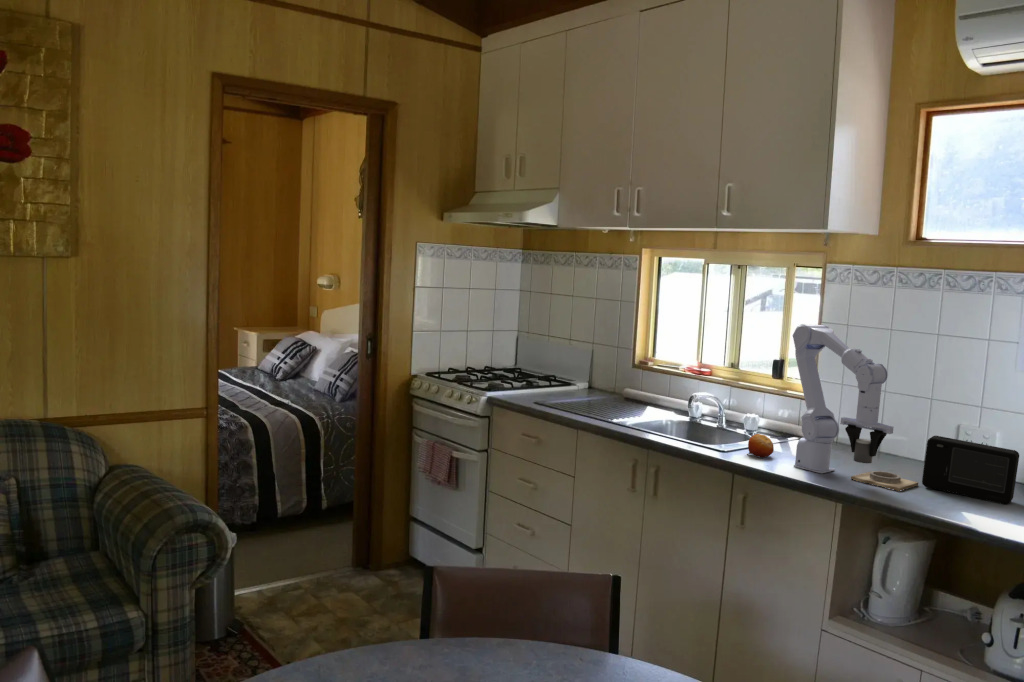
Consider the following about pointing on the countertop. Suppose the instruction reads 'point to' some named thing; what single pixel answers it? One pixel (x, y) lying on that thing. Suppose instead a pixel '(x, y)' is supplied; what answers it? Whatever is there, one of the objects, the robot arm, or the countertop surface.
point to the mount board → (885, 480)
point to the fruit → (760, 446)
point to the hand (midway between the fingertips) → (863, 454)
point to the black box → (970, 469)
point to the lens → (862, 451)
